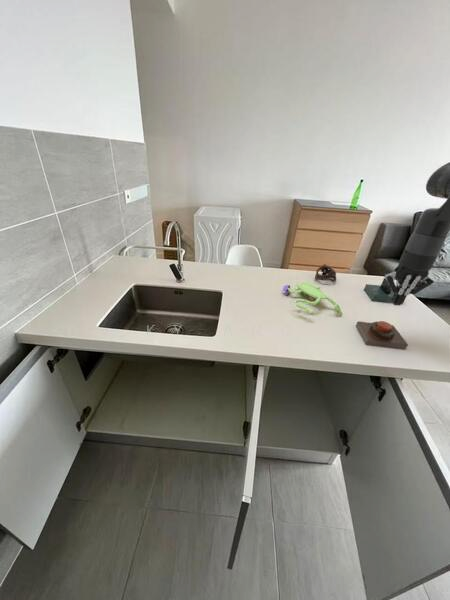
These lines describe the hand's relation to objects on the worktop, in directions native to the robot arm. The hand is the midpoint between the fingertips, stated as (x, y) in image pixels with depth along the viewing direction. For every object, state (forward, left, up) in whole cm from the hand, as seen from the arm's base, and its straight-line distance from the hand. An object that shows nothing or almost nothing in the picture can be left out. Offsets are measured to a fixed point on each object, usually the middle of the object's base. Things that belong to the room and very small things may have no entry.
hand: (395, 304), depth 74 cm
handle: (-13, -30, -10) cm, 34 cm away
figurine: (+20, -18, -14) cm, 30 cm away
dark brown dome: (+9, -42, -14) cm, 45 cm away
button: (0, 0, -10) cm, 10 cm away
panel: (-13, -30, -13) cm, 35 cm away
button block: (0, 0, -13) cm, 13 cm away
